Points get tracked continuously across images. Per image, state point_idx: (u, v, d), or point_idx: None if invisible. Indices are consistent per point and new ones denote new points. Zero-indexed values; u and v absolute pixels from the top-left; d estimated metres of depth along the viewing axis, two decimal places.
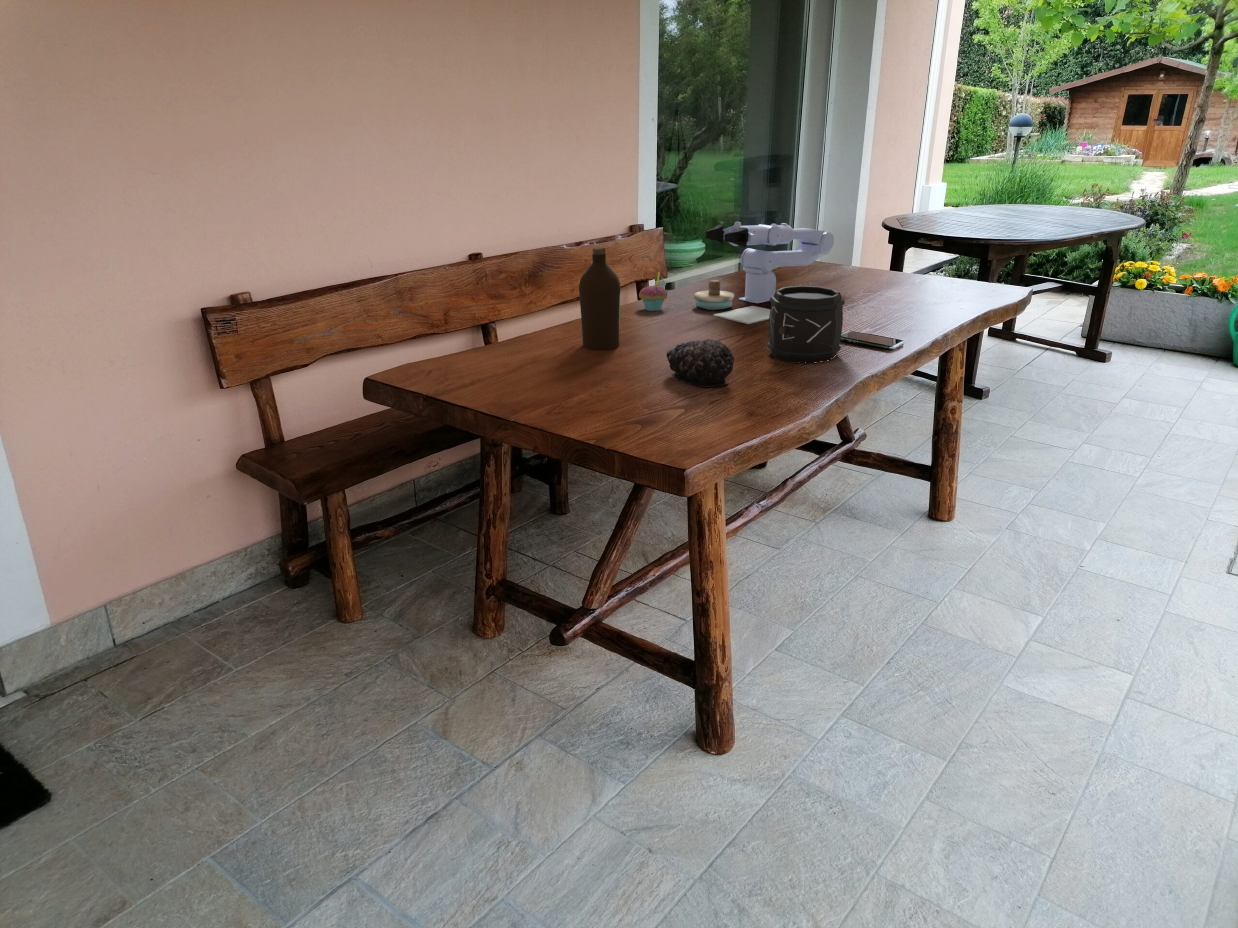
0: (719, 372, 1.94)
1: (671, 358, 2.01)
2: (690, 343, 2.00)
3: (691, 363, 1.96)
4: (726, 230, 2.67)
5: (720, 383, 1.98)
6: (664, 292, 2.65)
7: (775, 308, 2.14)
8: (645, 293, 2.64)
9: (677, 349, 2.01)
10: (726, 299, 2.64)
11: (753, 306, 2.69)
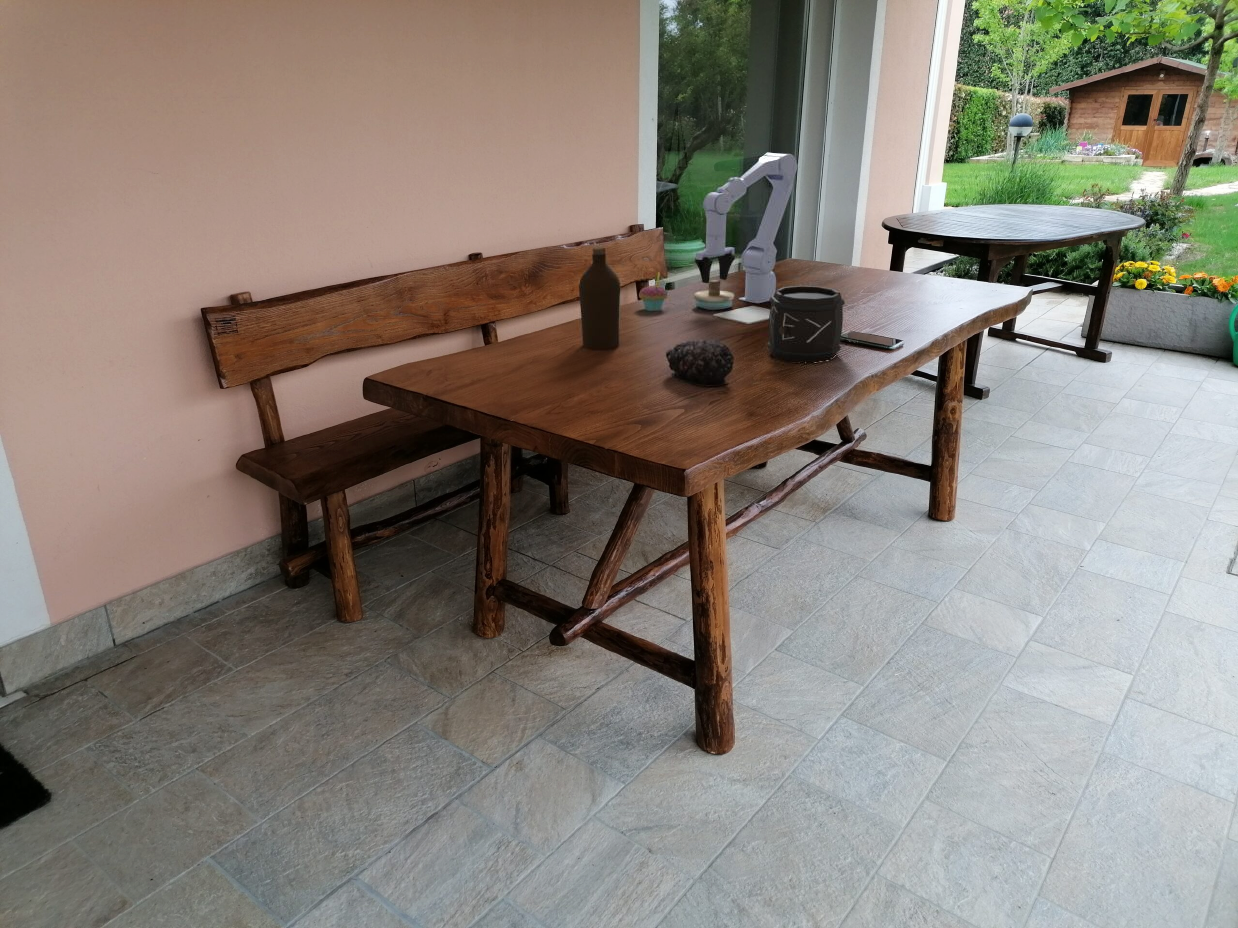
0: (719, 371, 1.95)
1: (671, 358, 2.02)
2: (690, 343, 2.00)
3: (691, 362, 1.97)
4: None
5: (720, 382, 1.99)
6: (664, 292, 2.65)
7: (775, 308, 2.14)
8: (645, 293, 2.64)
9: (677, 349, 2.02)
10: (726, 299, 2.64)
11: (753, 306, 2.69)
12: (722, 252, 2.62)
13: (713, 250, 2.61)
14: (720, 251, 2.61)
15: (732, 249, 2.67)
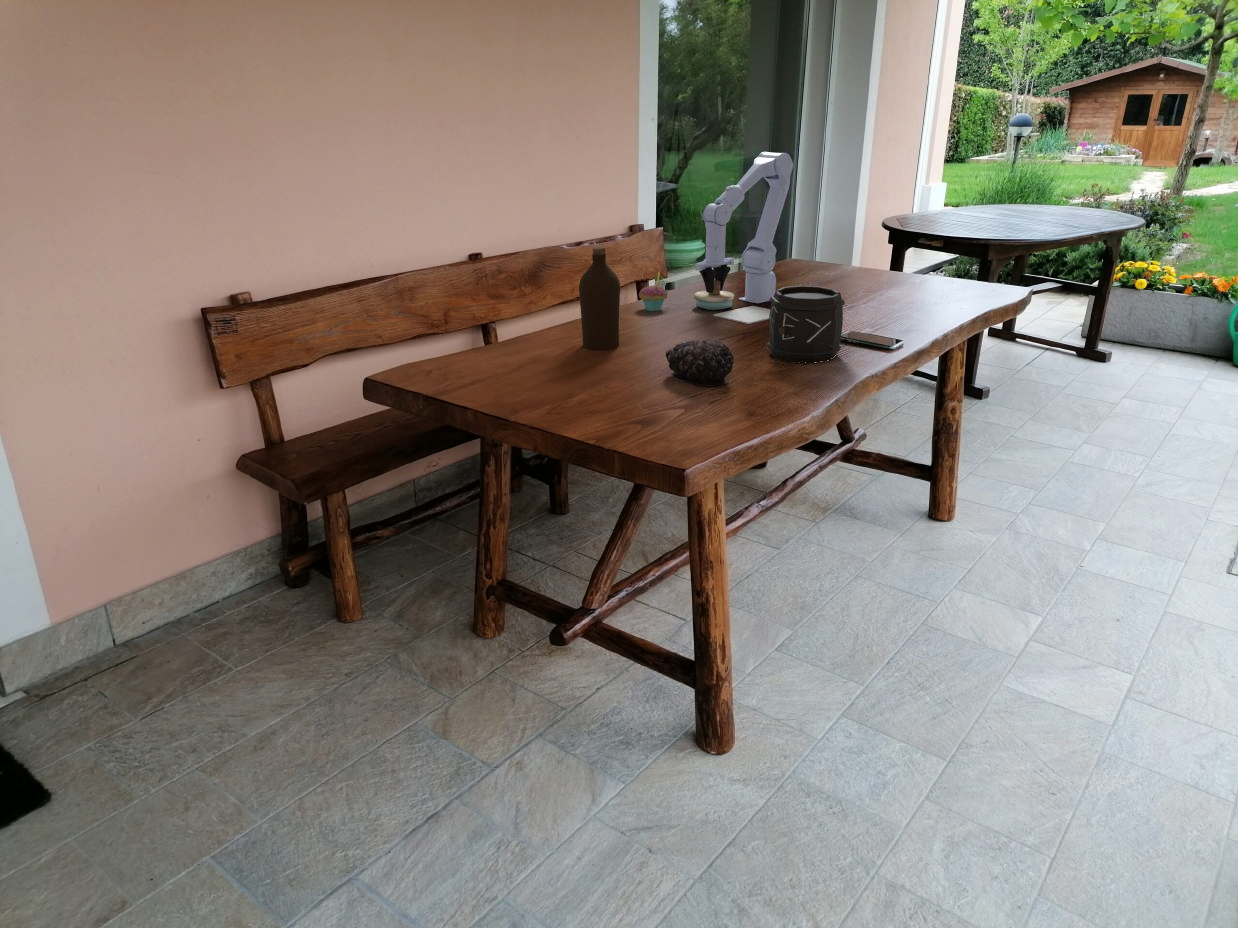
0: (720, 371, 1.95)
1: (671, 358, 2.02)
2: (690, 342, 2.00)
3: (691, 362, 1.97)
4: None
5: (720, 382, 1.99)
6: (664, 292, 2.65)
7: (775, 308, 2.14)
8: (645, 293, 2.64)
9: (676, 349, 2.02)
10: (726, 299, 2.64)
11: (753, 306, 2.69)
12: (722, 263, 2.63)
13: (713, 261, 2.62)
14: (720, 262, 2.62)
15: (732, 259, 2.68)
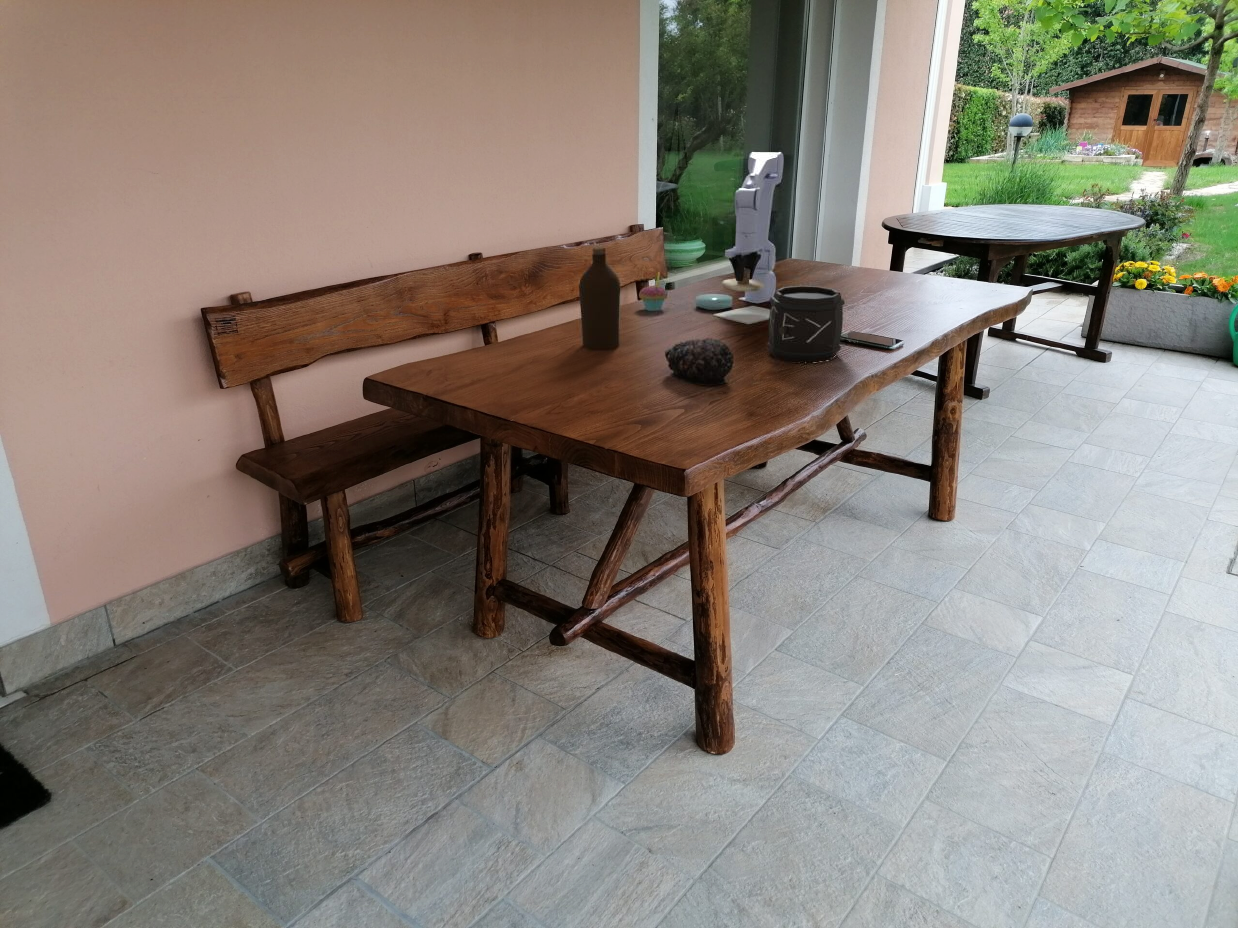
0: (720, 370, 1.95)
1: (670, 358, 2.02)
2: (689, 342, 2.01)
3: (691, 362, 1.97)
4: None
5: (720, 381, 1.99)
6: (664, 292, 2.65)
7: (775, 308, 2.14)
8: (645, 293, 2.64)
9: (676, 348, 2.02)
10: (756, 288, 2.55)
11: (753, 306, 2.69)
12: (752, 250, 2.53)
13: (743, 248, 2.52)
14: (750, 249, 2.52)
15: (762, 247, 2.58)
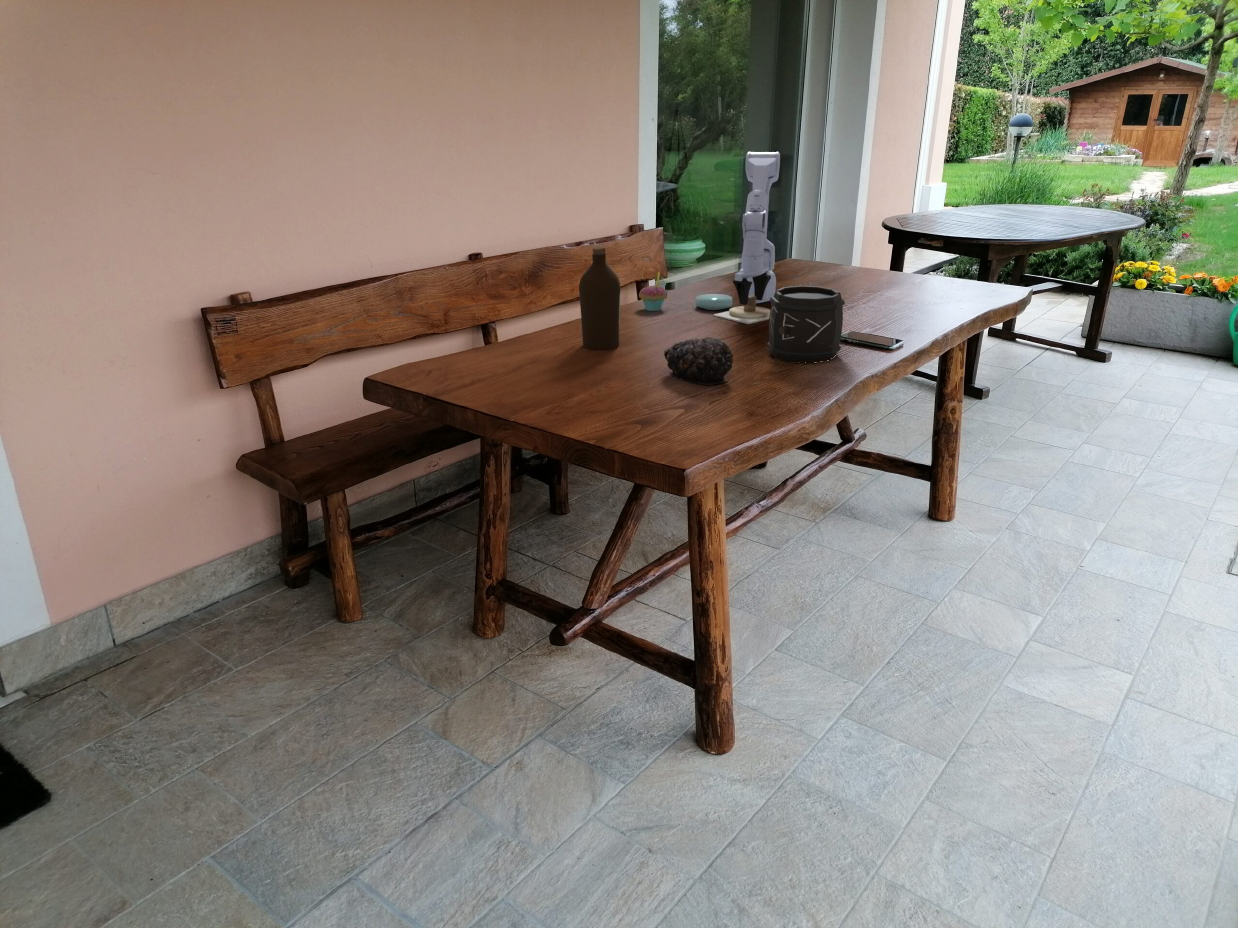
0: (720, 369, 1.96)
1: (670, 357, 2.02)
2: (689, 341, 2.01)
3: (691, 361, 1.98)
4: None
5: (720, 380, 2.00)
6: (664, 292, 2.65)
7: (775, 308, 2.14)
8: (645, 293, 2.64)
9: (675, 348, 2.03)
10: (765, 315, 2.56)
11: None
12: (761, 272, 2.53)
13: (752, 271, 2.53)
14: (759, 271, 2.53)
15: (767, 269, 2.59)
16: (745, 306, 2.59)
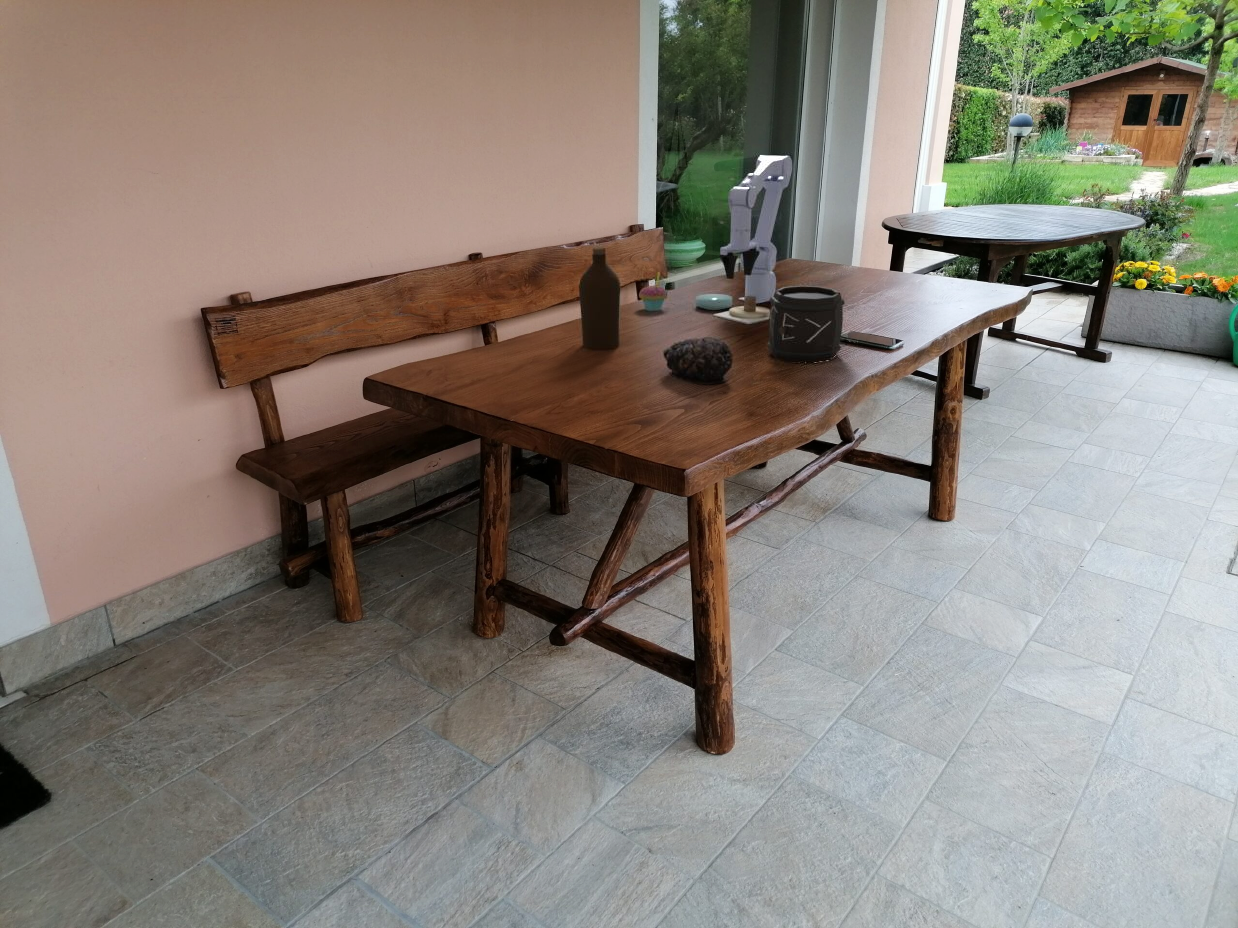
0: (720, 369, 1.96)
1: (669, 357, 2.03)
2: (688, 341, 2.01)
3: (691, 361, 1.98)
4: None
5: (720, 380, 2.00)
6: (664, 292, 2.65)
7: (775, 308, 2.14)
8: (645, 293, 2.64)
9: (675, 347, 2.03)
10: (765, 315, 2.56)
11: None
12: (747, 247, 2.58)
13: (738, 245, 2.57)
14: (745, 246, 2.57)
15: (757, 244, 2.63)
16: (745, 306, 2.59)
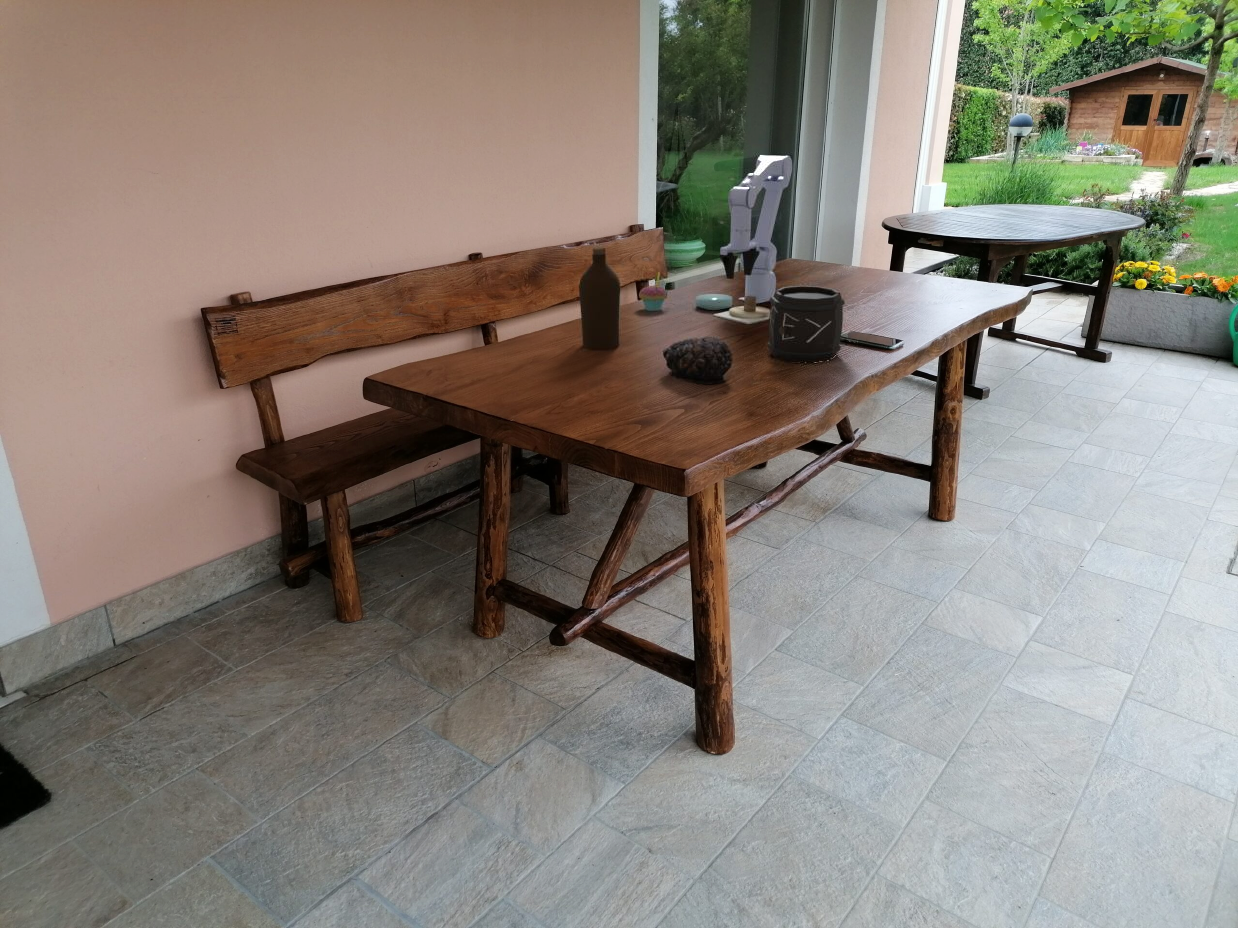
0: (720, 368, 1.97)
1: (669, 357, 2.03)
2: (688, 341, 2.02)
3: (691, 360, 1.98)
4: None
5: (720, 379, 2.01)
6: (664, 292, 2.65)
7: (775, 308, 2.14)
8: (645, 293, 2.64)
9: (675, 347, 2.03)
10: (765, 315, 2.56)
11: None
12: (747, 247, 2.58)
13: (738, 245, 2.57)
14: (745, 246, 2.57)
15: (757, 244, 2.63)
16: (745, 306, 2.59)
